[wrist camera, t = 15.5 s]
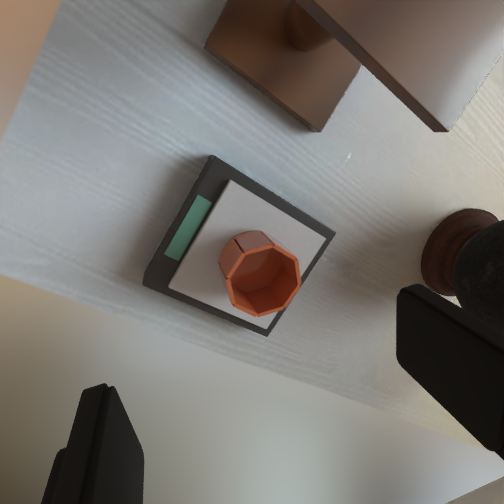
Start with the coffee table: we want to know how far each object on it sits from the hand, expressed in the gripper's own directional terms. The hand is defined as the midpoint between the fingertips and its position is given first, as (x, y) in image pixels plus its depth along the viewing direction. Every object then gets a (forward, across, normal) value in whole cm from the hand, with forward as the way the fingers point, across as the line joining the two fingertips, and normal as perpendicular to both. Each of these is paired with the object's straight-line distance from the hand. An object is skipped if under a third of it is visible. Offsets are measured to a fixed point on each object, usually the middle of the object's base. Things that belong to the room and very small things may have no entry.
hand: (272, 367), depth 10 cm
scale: (+22, -3, +5) cm, 23 cm away
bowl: (+19, -4, +5) cm, 20 cm away
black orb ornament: (+22, -30, +13) cm, 40 cm away
